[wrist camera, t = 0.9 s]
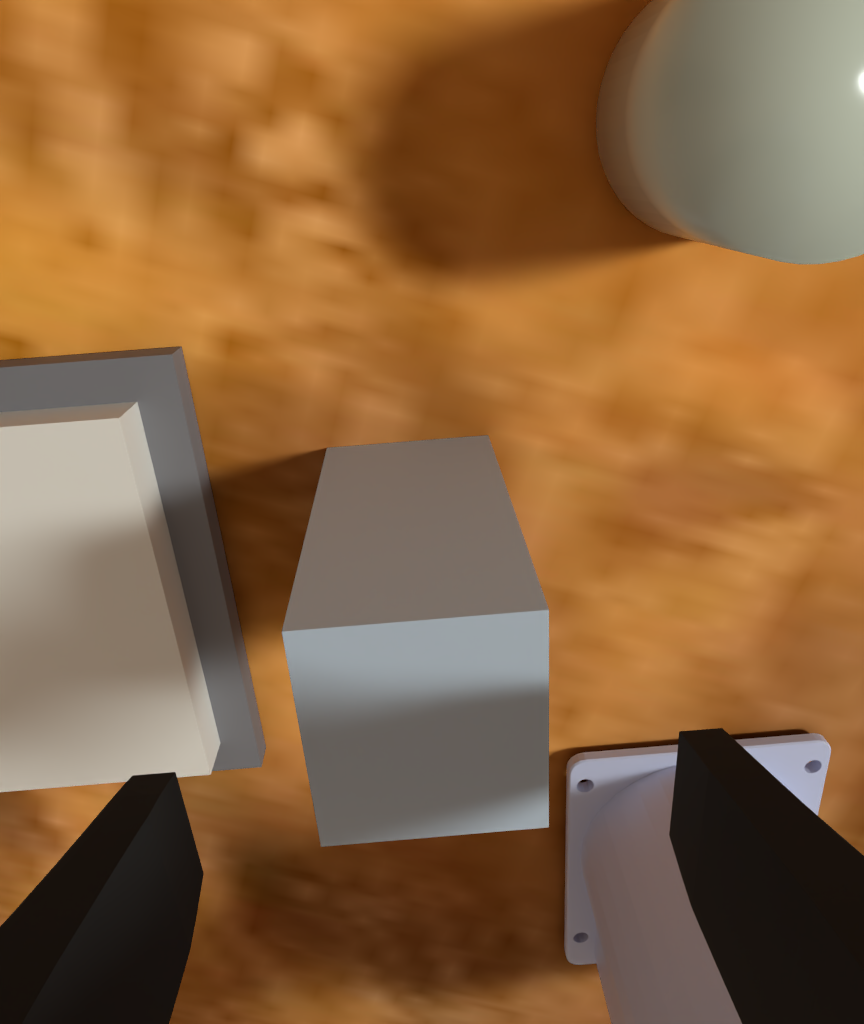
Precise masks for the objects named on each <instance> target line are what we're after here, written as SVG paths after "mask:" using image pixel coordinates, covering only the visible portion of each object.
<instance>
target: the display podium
mask: <svg viewBox="0 0 864 1024" xmlns="http://www.w3.org/2000/svg"><path fill="white" fill-rule="evenodd" d="M265 749H266V745H265V741H264V736H263V731H262V726H261V722H260V717H259V712H258V707H257V703H256V698H255V693H254V688H253V684H252V679H251V674H250V669H249V665H248V660H247V655H246V650H245V646H244V641H243V636H242V631H241V627H240V622H239V617H238V612H237V608H236V603H235V598H234V593H233V589H232V584H231V579H230V574H229V570H228V565H227V560H226V555H225V551H224V546H223V541H222V536H221V532H220V527H219V522H218V517H217V513H216V508H215V503H214V498H213V494H212V489H211V484H210V479H209V475H208V470H207V465H206V460H205V456H204V451H203V446H202V441H201V437H200V432H199V427H198V422H197V418H196V413H195V408H194V403H193V399H192V394H191V389H190V384H189V380H188V375H187V370H186V365H185V361H184V356H183V351H182V346H181V347H168V348H155V349H142V350H129V351H116V352H103V353H90V354H77V355H64V356H51V357H37V358H24V359H11V360H0V792H8V791H20V790H32V789H44V788H56V787H68V786H80V785H92V784H104V783H116V782H127V781H128V780H129V779H130V778H131V777H132V776H133V775H144V774H157V773H169V772H175V773H176V776H177V777H188V776H200V775H211V772H212V771H219V770H231V769H243V768H254V767H262V762H263V758H264V754H265Z"/></svg>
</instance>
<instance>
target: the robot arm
mask: <svg viewBox="0 0 864 1024" xmlns="http://www.w3.org/2000/svg"><path fill="white" fill-rule="evenodd" d="M830 754H831V747H830V745H829V744H828V742H827V741H826V740H825V738H824V737H823V736H822V735H820V734H814V733H811V734H799V735H787V736H775V737H763V738H751V739H739V740H734V739H733V738H732V737H731V736H730V735H729V734H728V733H727V732H725V731H724V730H723V729H722V728H718V729H706V730H693V731H681V732H679V741H678V745H667V746H655V747H643V748H631V749H619V750H607V751H595V752H583V753H579V754H576V755H574V756H573V757H571V758H570V760H569V761H568V763H567V779H566V854H565V929H564V949H565V954H566V958H567V960H568V961H569V962H570V963H572V964H575V965H584V964H595V963H596V964H597V968H598V972H599V976H600V980H601V984H602V988H603V992H604V996H605V1000H606V1004H607V1008H608V1012H609V1016H610V1020H611V1024H864V856H863V855H862V854H861V853H860V852H859V851H858V850H856V849H855V848H854V847H853V846H852V845H851V844H849V843H848V842H847V841H846V840H845V839H844V838H843V837H841V836H840V835H839V834H838V833H837V832H836V831H834V830H833V829H832V828H831V827H830V826H829V825H828V824H826V823H825V822H824V821H823V820H822V819H821V818H819V817H818V811H819V806H820V801H821V797H822V792H823V787H824V782H825V778H826V773H827V768H828V763H829V759H830ZM809 761H811V762H810V763H808V762H809ZM584 779H588V781H586V782H583V783H581V782H580V781H581V780H584ZM202 879H203V870H202V866H201V863H200V859H199V855H198V852H197V848H196V845H195V841H194V837H193V834H192V830H191V827H190V823H189V819H188V816H187V812H186V809H185V805H184V801H183V798H182V794H181V791H180V787H179V783H178V780H177V776H176V773H175V772H169V773H157V774H144V775H133V776H132V777H131V778H130V779H129V780H128V781H127V782H126V783H125V784H124V786H123V787H122V788H121V789H120V790H119V791H118V792H117V793H116V795H115V796H114V797H113V798H112V799H111V800H110V802H109V803H108V804H107V805H106V806H105V807H104V809H103V810H102V811H101V812H100V813H99V815H98V816H97V817H96V818H95V819H94V820H93V822H92V823H91V824H90V825H89V826H88V828H87V829H86V830H85V831H84V832H83V833H82V835H81V836H80V837H79V838H78V839H77V840H76V842H75V843H74V844H73V845H72V846H71V847H70V849H69V850H68V851H67V852H66V853H65V854H64V856H63V857H62V858H61V859H60V860H59V861H58V863H57V864H56V865H55V866H54V867H53V868H52V869H51V871H50V872H49V873H48V874H47V875H46V876H45V877H44V878H43V880H42V881H41V882H40V883H39V884H38V885H37V886H36V887H35V889H34V890H33V891H32V892H31V893H30V894H29V895H28V896H27V898H26V899H25V900H24V901H23V902H22V903H21V904H20V906H19V907H18V908H17V909H16V910H15V911H14V912H13V913H12V914H11V916H10V917H9V918H8V919H7V920H6V921H5V922H4V923H3V924H2V925H1V926H0V1024H169V1021H170V1018H171V1015H172V1011H173V1008H174V1004H175V1001H176V997H177V994H178V990H179V987H180V983H181V980H182V977H183V973H184V970H185V966H186V962H187V959H188V955H189V952H190V947H191V942H192V937H193V931H194V926H195V921H196V915H197V910H198V903H199V897H200V891H201V885H202Z"/></svg>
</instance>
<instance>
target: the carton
mask: <svg viewBox="0 0 864 1024" xmlns="http://www.w3.org/2000/svg"><path fill="white" fill-rule="evenodd" d="M282 636H283V641H284V647H285V652H286V658H287V663H288V668H289V674H290V679H291V685H292V690H293V696H294V701H295V707H296V712H297V718H298V723H299V729H300V734H301V740H302V745H303V750H304V756H305V761H306V767H307V772H308V778H309V783H310V789H311V794H312V800H313V805H314V811H315V816H316V822H317V827H318V833H319V838H320V843H321V847H324V846H336V845H348V844H360V843H371V842H383V841H395V840H407V839H418V838H430V837H442V836H454V835H465V834H477V833H489V832H501V831H512V830H524V829H536V828H548V827H549V609H548V606H547V603H546V600H545V597H544V594H543V592H542V589H541V586H540V583H539V580H538V577H537V574H536V571H535V568H534V566H533V563H532V560H531V557H530V554H529V551H528V548H527V545H526V543H525V540H524V537H523V534H522V531H521V528H520V525H519V522H518V520H517V517H516V514H515V511H514V508H513V505H512V502H511V499H510V497H509V494H508V491H507V488H506V485H505V482H504V479H503V476H502V473H501V471H500V468H499V465H498V462H497V459H496V456H495V453H494V450H493V448H492V445H491V442H490V439H489V436H488V435H485V436H472V437H459V438H447V439H434V440H421V441H409V442H396V443H383V444H370V445H358V446H345V447H332V448H327V450H326V454H325V458H324V462H323V466H322V470H321V474H320V478H319V482H318V486H317V490H316V494H315V499H314V503H313V507H312V511H311V515H310V519H309V523H308V527H307V531H306V535H305V539H304V543H303V547H302V551H301V555H300V559H299V564H298V568H297V572H296V576H295V580H294V584H293V588H292V592H291V596H290V600H289V604H288V608H287V612H286V616H285V620H284V625H283V629H282Z"/></svg>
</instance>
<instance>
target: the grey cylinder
mask: <svg viewBox="0 0 864 1024" xmlns="http://www.w3.org/2000/svg"><path fill="white" fill-rule="evenodd" d="M596 138H597V145H598V151H599V156H600V160H601V163H602V167H603V170H604V173H605V175H606V177H607V179H608V182H609V184H610V186H611V187H612V189H613V191H614V192H615V194H616V196H617V197H618V199H619V200H620V201H621V202H622V204H623V205H624V206H625V207H626V208H627V209H628V210H629V211H630V212H631V213H632V214H633V215H634V216H635V217H636V218H637V219H639V220H640V221H642V222H643V223H645V224H646V225H648V226H649V227H652V228H654V229H656V230H658V231H660V232H663V233H666V234H669V235H673V236H676V237H680V238H685V239H689V240H693V241H697V242H701V243H705V244H710V245H714V246H718V247H722V248H726V249H730V250H734V251H739V252H743V253H747V254H751V255H755V256H759V257H763V258H768V259H772V260H776V261H780V262H787V263H794V264H823V263H830V262H837V261H841V260H845V259H849V258H852V257H856V256H859V255H862V254H864V0H652V1H651V2H650V3H648V4H647V5H646V6H645V7H644V9H643V10H642V11H641V12H640V13H639V14H638V15H637V16H636V17H635V18H634V20H633V21H632V22H631V24H630V25H629V26H628V28H627V29H626V30H625V32H624V33H623V35H622V37H621V38H620V40H619V42H618V44H617V45H616V47H615V49H614V51H613V53H612V55H611V58H610V60H609V62H608V64H607V67H606V70H605V73H604V76H603V79H602V83H601V86H600V91H599V97H598V102H597V112H596Z"/></svg>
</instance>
